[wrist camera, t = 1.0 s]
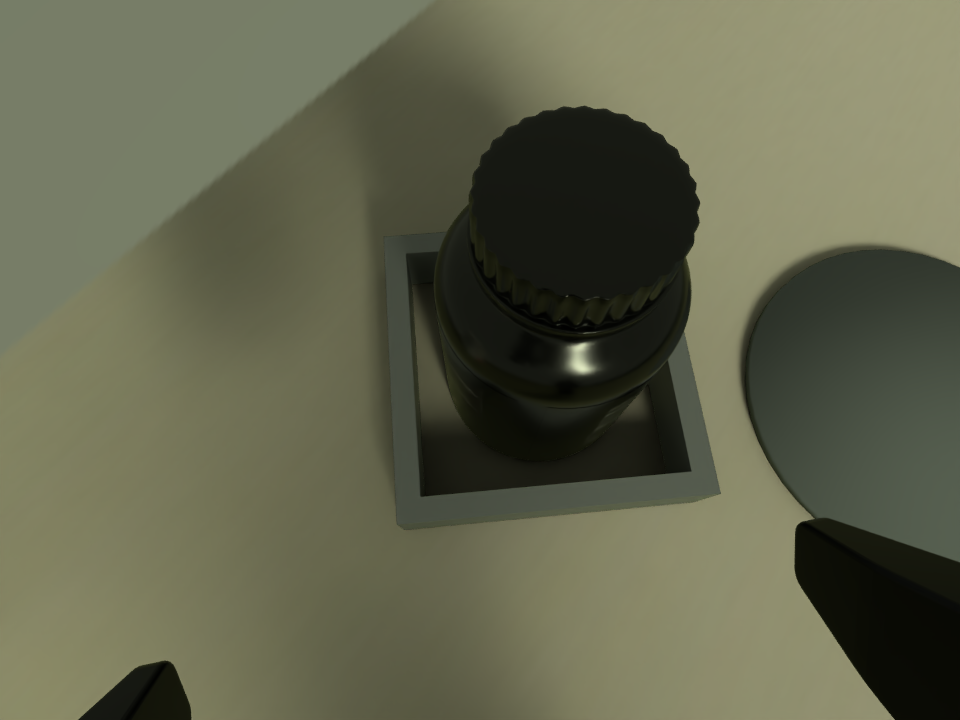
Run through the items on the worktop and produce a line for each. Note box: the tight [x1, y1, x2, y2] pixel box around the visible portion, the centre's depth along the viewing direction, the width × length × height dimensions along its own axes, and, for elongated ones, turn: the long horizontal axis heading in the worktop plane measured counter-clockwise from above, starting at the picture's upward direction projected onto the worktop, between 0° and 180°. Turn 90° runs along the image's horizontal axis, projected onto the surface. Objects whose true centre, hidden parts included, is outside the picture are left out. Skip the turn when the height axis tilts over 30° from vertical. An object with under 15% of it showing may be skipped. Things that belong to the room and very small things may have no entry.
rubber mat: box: [745, 250, 960, 562], centre depth 23 cm, size 13×13×1 cm
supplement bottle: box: [434, 106, 700, 461], centre depth 18 cm, size 7×7×12 cm
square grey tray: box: [384, 232, 721, 530], centre depth 22 cm, size 11×11×2 cm
